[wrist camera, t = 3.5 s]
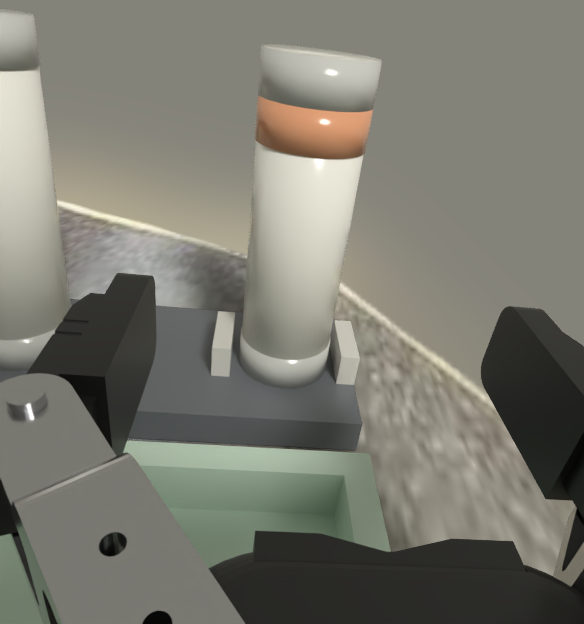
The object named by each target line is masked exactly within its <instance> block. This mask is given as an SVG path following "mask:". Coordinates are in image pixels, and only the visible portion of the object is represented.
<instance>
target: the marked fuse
mask: <svg viewBox="0 0 584 624" xmlns="http://www.w3.org/2000/svg"><path fill="white" fill-rule="evenodd" d="M381 64H382V60H380V59H377V58H373V57H368V56H364V55H358V54H353V53H346V52H341V51H334V50H327V49H319V48H311V47H302V46H292V45H279V44H264V45H262V46H261V59H260V73H259V87H258V102H257V115H256V130H255V139H256V147H255V161H254V175H253V188H252V203H251V216H250V230H249V244H248V256H247V270H246V284H245V297H244V311H243V325H242V328H241V337H240V351H239V362H240V365H241V367H242V369H243V370H244V372H245V373H246V374H247V375H248V376H250V377H251V378H252V379H254V380H256V381H258V382H260V383H262V384H265V385H268V386H271V387H277V388H299V387H304V386H307V385H310V384H312V383H314V382H316V381H317V380H318V379H319V378H320V377H321V376H322V375H323V373H324V371H325V368H326V362H327V357H328V351H329V346H330V334H331V329H332V323H333V318H334V312H335V307H336V301H337V296H338V291H339V285H340V280H341V273H342V269H343V263H344V257H345V252H346V247H347V241H348V236H349V230H350V225H351V219H352V214H353V209H354V203H355V198H356V192H357V187H358V181H359V176H360V170H361V165H362V159H363V154H364V153H365V150H366V145H367V140H368V134H369V129H370V123H371V118H372V112H373V107H374V101H375V96H376V91H377V86H378V80H379V74H380V69H381Z"/></svg>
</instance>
